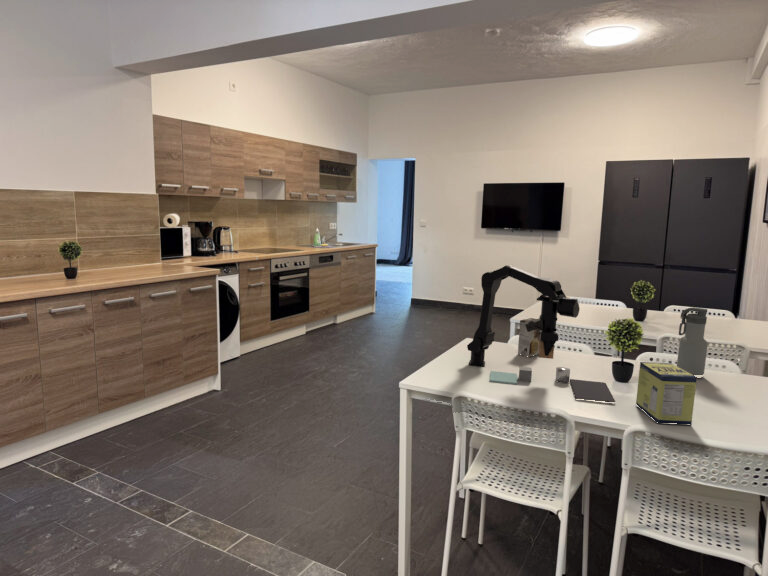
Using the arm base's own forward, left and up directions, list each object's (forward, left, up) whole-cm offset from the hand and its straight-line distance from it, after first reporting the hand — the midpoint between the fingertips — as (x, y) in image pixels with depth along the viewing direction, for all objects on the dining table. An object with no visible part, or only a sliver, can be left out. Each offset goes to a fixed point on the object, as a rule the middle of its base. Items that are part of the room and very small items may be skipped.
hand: (545, 353), depth 192 cm
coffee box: (-38, -4, -11) cm, 40 cm away
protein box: (+24, +35, -11) cm, 44 cm away
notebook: (+8, +16, -12) cm, 21 cm away
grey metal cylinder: (-2, +7, -11) cm, 13 cm away
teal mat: (+2, -15, -11) cm, 19 cm away
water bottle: (-28, +59, -11) cm, 66 cm away
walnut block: (0, 0, -1) cm, 1 cm away
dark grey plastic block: (+1, -7, -11) cm, 13 cm away
